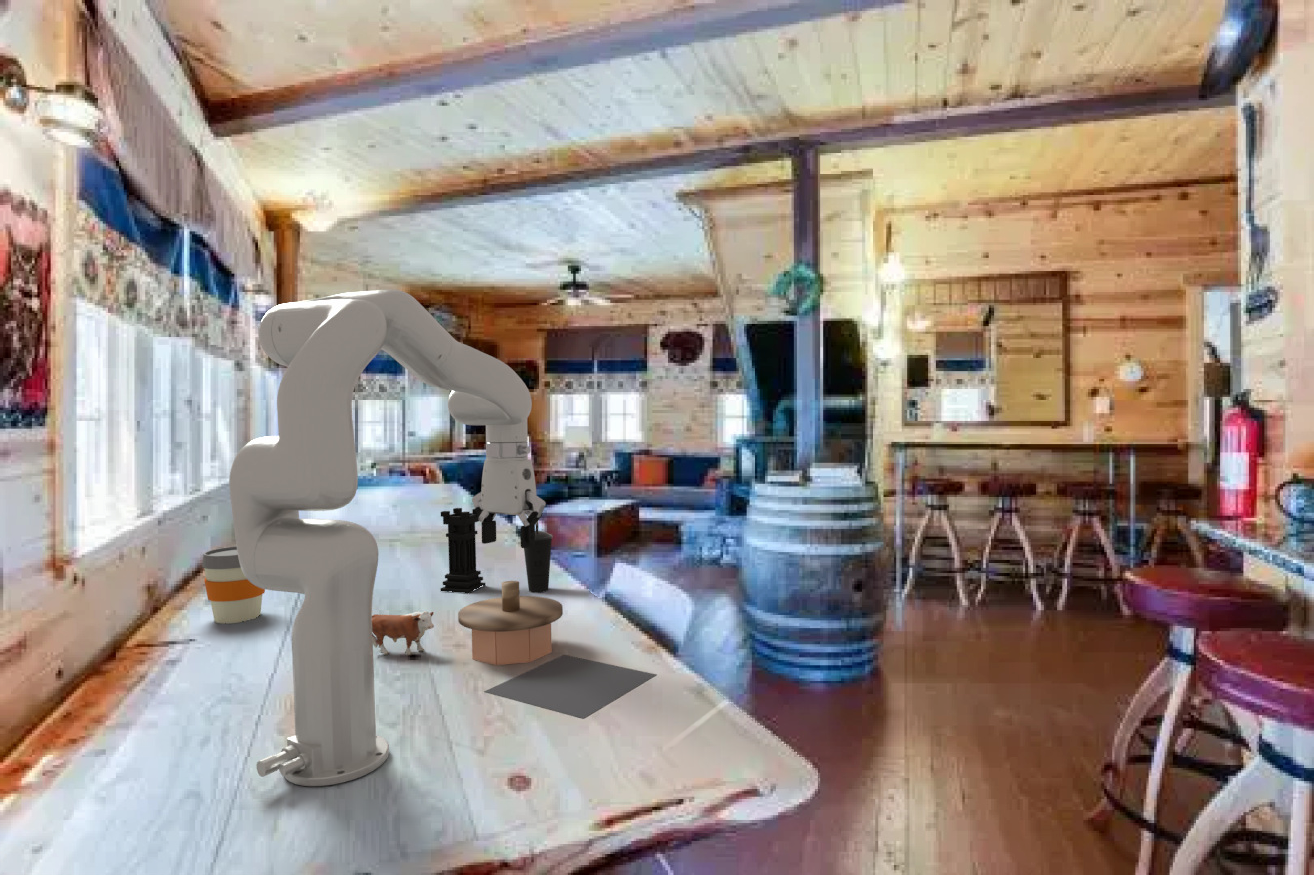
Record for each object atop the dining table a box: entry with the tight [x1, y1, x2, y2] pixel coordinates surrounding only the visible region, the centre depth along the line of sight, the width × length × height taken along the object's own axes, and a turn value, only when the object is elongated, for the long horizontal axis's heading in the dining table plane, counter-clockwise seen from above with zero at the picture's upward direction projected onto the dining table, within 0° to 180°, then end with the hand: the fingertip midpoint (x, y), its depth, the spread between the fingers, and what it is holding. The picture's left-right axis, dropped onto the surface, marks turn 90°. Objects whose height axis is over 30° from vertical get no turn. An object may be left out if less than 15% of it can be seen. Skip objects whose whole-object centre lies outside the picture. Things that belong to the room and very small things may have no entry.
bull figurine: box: [372, 610, 435, 656], centre depth 138 cm, size 4×13×8 cm, turn 79°
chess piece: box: [440, 507, 486, 594], centre depth 186 cm, size 8×8×20 cm
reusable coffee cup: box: [201, 545, 266, 624], centre depth 163 cm, size 13×13×15 cm
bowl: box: [471, 623, 553, 666], centre depth 137 cm, size 14×14×7 cm
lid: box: [457, 580, 564, 632], centre depth 137 cm, size 19×19×6 cm
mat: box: [483, 654, 658, 720], centre depth 120 cm, size 20×20×1 cm
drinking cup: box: [523, 522, 554, 593], centre depth 183 cm, size 8×8×20 cm
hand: (508, 544), depth 136 cm, fingers open, 9 cm apart
